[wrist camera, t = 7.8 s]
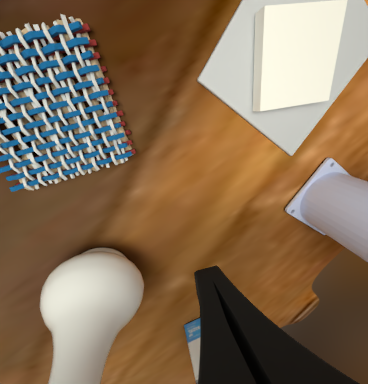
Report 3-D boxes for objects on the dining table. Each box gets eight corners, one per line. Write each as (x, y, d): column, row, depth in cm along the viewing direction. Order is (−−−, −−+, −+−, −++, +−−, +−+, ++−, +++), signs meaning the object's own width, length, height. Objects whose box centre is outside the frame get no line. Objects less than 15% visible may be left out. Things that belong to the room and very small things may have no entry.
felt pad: (379, 37, 18) (384, 35, 17) (289, 155, 21) (291, 156, 21) (299, -103, 13) (303, -109, 12) (196, 80, 16) (197, 80, 16)
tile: (347, -1, 14) (264, 5, 13) (328, 100, 17) (260, 111, 16) (330, 8, 16) (253, 14, 15) (316, 100, 19) (251, 111, 18)
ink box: (182, 324, 29) (206, 444, 19) (211, 311, 30) (251, 423, 19) (196, 349, 33) (223, 460, 23) (222, 337, 33) (260, 443, 23)
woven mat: (140, 156, 18) (140, 161, 16) (27, 190, 17) (14, 199, 15) (90, 17, 13) (82, 3, 12) (-69, 53, 12) (-104, 44, 11)
